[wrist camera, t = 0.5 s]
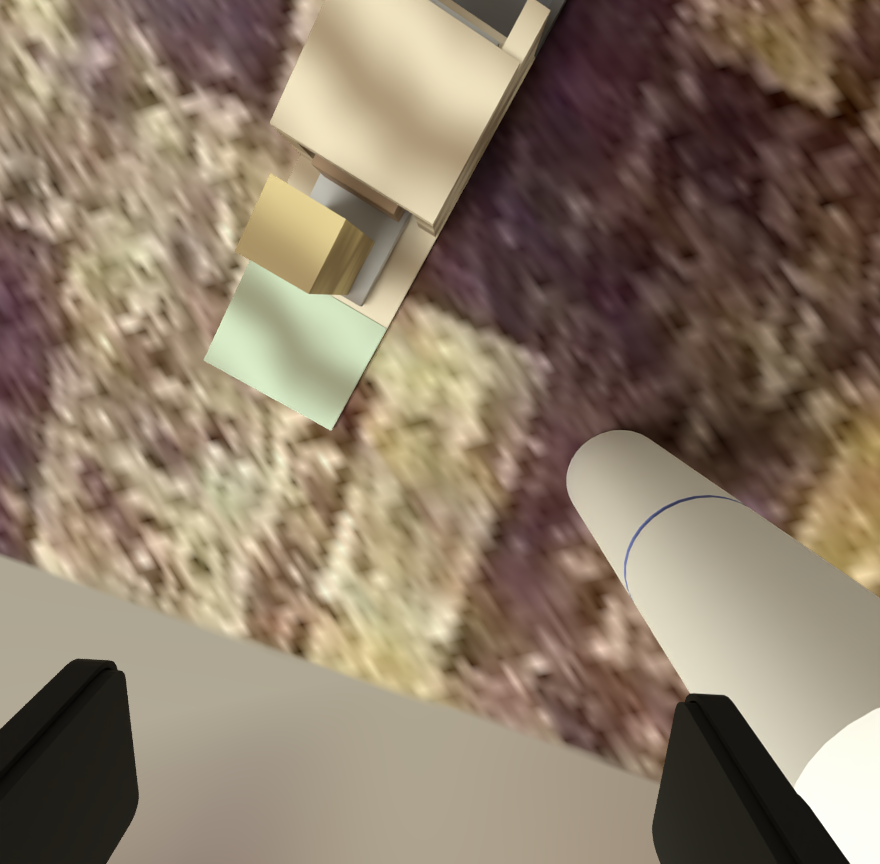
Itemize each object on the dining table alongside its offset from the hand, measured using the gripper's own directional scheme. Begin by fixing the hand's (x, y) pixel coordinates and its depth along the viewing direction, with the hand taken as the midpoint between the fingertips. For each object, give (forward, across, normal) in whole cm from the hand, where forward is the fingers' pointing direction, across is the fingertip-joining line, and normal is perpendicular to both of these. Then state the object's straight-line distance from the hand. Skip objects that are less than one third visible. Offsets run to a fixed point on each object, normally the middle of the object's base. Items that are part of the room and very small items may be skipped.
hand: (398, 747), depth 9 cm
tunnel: (+28, +4, -14) cm, 32 cm away
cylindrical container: (+28, -13, +4) cm, 32 cm away
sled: (+27, +4, -15) cm, 32 cm away
